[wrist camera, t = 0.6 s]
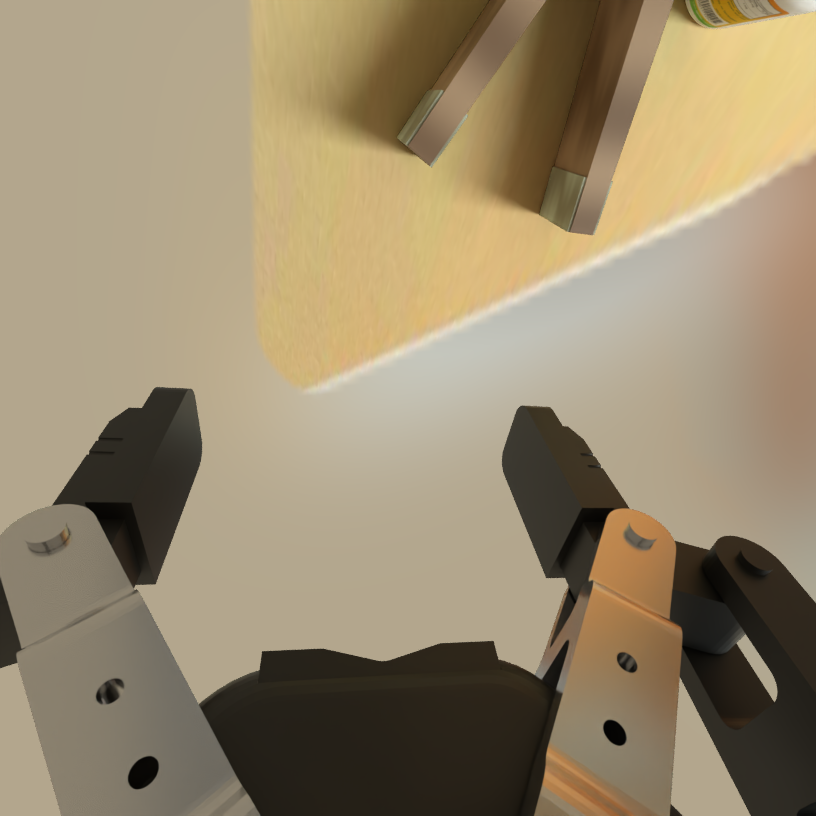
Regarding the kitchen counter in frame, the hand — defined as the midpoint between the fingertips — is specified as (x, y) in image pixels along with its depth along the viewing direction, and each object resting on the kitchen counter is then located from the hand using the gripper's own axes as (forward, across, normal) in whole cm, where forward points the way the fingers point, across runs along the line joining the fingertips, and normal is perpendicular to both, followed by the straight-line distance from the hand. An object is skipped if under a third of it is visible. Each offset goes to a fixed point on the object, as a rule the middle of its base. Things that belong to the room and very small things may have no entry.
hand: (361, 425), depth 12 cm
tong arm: (+23, -7, -10) cm, 26 cm away
